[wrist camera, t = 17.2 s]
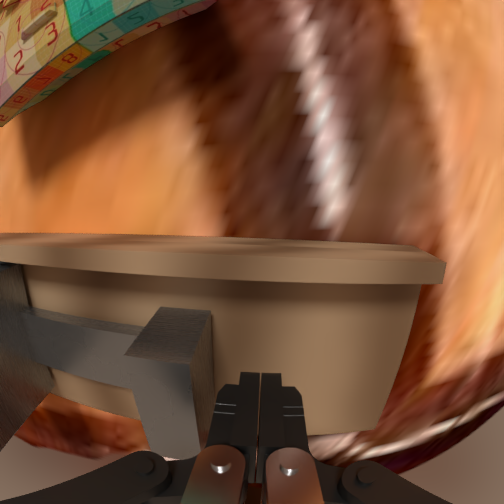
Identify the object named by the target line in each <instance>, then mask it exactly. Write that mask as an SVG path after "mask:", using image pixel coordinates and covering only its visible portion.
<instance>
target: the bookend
mask: <svg viewBox="0 0 504 504" xmlns="http://www.w3.org/2000/svg"><path fill="white" fill-rule="evenodd" d="M47 366H49V367H51V368H54V369H57V370H60V371H64V372H67V373H70V374H73V375H77V376H80V377H84V378H87V379H91V380H94V381H98V382H102V383H106V384H110V385H114V386H119V387H123V388H128V389H132V392H133V395H134V399H135V402H136V406H137V409H138V413H139V416H140V419H141V422H142V425H143V428H144V431H145V434H146V437H147V440H148V443H149V446H150V448H151V451H152V452H154V453H157V454H159V455H160V456H163V457H168V458H174V459H179V460H184V459H189V458H192V457H194V456H196V455H198V454H199V453H200V452H201V451H202V450H203V449H204V448H205V446H206V443H207V438H208V434H209V429H210V425H211V421H212V416H213V413H214V407H215V395H214V378H213V359H212V335H211V310H197V309H184V308H172V307H160V308H159V309H158V310H157V312H156V313H155V314H154V316H153V317H152V318H151V319H150V321H149V322H148V323H147V325H146V326H145V327H144V326H137V325H129V324H122V323H116V322H109V321H103V320H97V319H91V318H85V317H80V316H74V315H69V314H64V313H59V312H54V311H49V310H45V309H40V308H36V307H31V306H29V304H28V300H27V296H26V291H25V286H24V281H23V276H22V270H21V264H20V263H11V262H5V263H3V264H1V265H0V451H1V450H2V449H3V448H4V446H5V445H6V444H7V443H8V441H9V440H10V439H11V437H12V436H13V435H14V434H15V433H16V431H17V430H18V429H19V428H20V426H21V425H22V424H23V423H24V422H25V420H26V419H27V418H28V417H29V416H30V414H31V413H32V412H33V411H34V410H35V408H36V407H37V406H38V405H39V404H40V403H41V401H42V400H43V399H44V398H45V397H46V396H47V395H48V393H49V392H50V391H51V390H52V389H53V388H54V387H55V385H54V383H53V380H52V378H51V375H50V372H49V370H48V367H47Z"/></svg>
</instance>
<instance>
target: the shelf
mask: <svg viewBox="0 0 504 504" xmlns="http://www.w3.org/2000/svg"><path fill="white" fill-rule="evenodd" d="M0 261H2V262H11V263H20V264H21V270H22V276H23V281H24V286H25V291H26V296H27V300H28V304H29V306H31V307H36V308H40V309H45V310H49V311H54V312H59V313H64V314H69V315H74V316H80V317H85V318H91V319H97V320H103V321H109V322H116V323H122V324H129V325H137V326H144V327H145V326H146V325H147V323H148V322H149V321H150V319H151V318H152V317H153V316H154V314H155V313H156V312H157V310H158V309H159V308H160V307H172V308H184V309H197V310H211V335H212V359H213V378H214V395H215V404H216V398H217V394H218V392H219V391H220V389H221V388H222V387H223V386H224V385H225V384H236V385H239V379H240V373H241V372H259V373H260V387H259V408H260V391H261V374H262V373H281V377H282V386H295V387H296V389H297V390H298V391H299V392H300V394H301V395H302V401H303V408H304V417H305V423H306V431H307V435H322V434H336V433H347V432H356V431H364V430H372V429H375V427H376V425H377V423H378V420H379V418H380V416H381V413H382V411H383V409H384V406H385V404H386V401H387V399H388V396H389V394H390V391H391V388H392V386H393V383H394V380H395V377H396V375H397V372H398V369H399V366H400V363H401V360H402V357H403V353H404V350H405V347H406V344H407V340H408V337H409V333H410V330H411V326H412V322H413V318H414V314H415V310H416V306H417V302H418V297H419V293H420V288H421V284H442V283H443V278H444V273H445V268H446V262H444V261H442V260H440V259H438V258H436V257H435V256H433V255H431V254H429V253H427V252H425V251H423V250H421V249H419V248H417V247H415V246H407V245H389V244H371V243H351V242H331V241H309V240H286V239H261V238H234V237H204V236H170V235H130V234H75V233H0ZM47 367H48V370H49V372H50V375H51V378H52V380H53V383H54V385H55V387H54V388H53V389H52V390H51V391H50V393H52V394H55V395H57V396H60V397H63V398H65V399H68V400H71V401H74V402H77V403H80V404H83V405H86V406H89V407H92V408H96V409H99V410H102V411H106V412H109V413H113V414H117V415H121V416H125V417H129V418H133V419H137V420H141V419H140V416H139V413H138V409H137V406H136V402H135V399H134V395H133V392H132V389H128V388H123V387H119V386H114V385H110V384H106V383H102V382H98V381H94V380H91V379H87V378H84V377H80V376H77V375H73V374H70V373H67V372H64V371H60V370H57V369H54V368H51V367H49V366H47ZM258 429H259V409H258ZM258 429H257V435H258Z"/></svg>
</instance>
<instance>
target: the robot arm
mask: <svg viewBox="0 0 504 504" xmlns="http://www.w3.org/2000/svg"><path fill="white" fill-rule="evenodd" d="M259 387H260V373H259V372H241V373H240V379H239V385H236V384H225V385H224V386H223V387H222V388H221V389H220V391H219V392H218V394H217V398H216V404H215V407H214V413H213V416H212V421H211V425H210V429H209V434H208V438H207V443H206V446H205V448H204V449H203V450H202V451H201V452H200V453H199V454H198V455H196V456H194V457H192V458H189V459H184V460H174V461H166V460H165V459H164V458H163V457H162V456H160V455H159V454H157V453H154V452H151V451H137V452H134V453H131V454H129V455H127V456H125V457H123V458H121V459H119V460H116V461H114V462H112V463H110V464H108V465H106V466H103V467H101V468H98V469H96V470H94V471H92V472H89V473H86V474H84V475H81V476H79V477H77V478H74V479H71V480H68V481H66V482H63V483H61V484H57V485H55V486H52V487H49V488H46V489H42V490H39V491H36V492H33V493H29V494H26V495H22V496H19V497H15V498H11V499H7V500H3V501H0V504H244V502H245V500H246V497H247V489H248V483H254V476H255V462H256V448H257V429H258V409H259V429H258V450H257V470H256V483H262V497H261V504H452V503H450V502H447V501H446V500H443V499H441V498H439V497H437V496H435V495H433V494H432V493H429V492H428V491H425V490H424V489H422V488H420V487H418V486H416V485H414V484H413V483H411V482H409V481H407V480H406V479H404V478H402V477H400V476H399V475H397V474H395V473H394V472H392V471H390V470H389V469H387V468H385V467H384V466H382V465H380V464H378V463H376V462H374V461H367V460H364V461H358V462H355V463H353V464H351V465H349V466H348V467H347V468H343V467H336V466H330V465H326V464H323V463H321V462H319V461H318V460H316V459H315V458H314V457H313V456H312V454H311V453H310V451H309V447H308V439H307V431H306V423H305V417H304V408H303V401H302V395H301V394H300V392H299V391H298V390H297V389H296V387H295V386H282V377H281V373H262V374H261V391H260V408H259Z"/></svg>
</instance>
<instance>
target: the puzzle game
mask: <svg viewBox="0 0 504 504" xmlns="http://www.w3.org/2000/svg"><path fill="white" fill-rule="evenodd" d="M216 1H218V0H0V127H3V126H4V125H5V124H6V123H8V122H9V121H10V120H11V119H13V118H14V117H15V116H16V115H18V114H19V113H20V112H22V111H24V110H26V109H28V108H29V107H31V106H33V105H35V104H37V103H39V102H40V101H42V100H44V99H45V98H46V97H48V96H49V95H50V94H52V93H53V92H54V91H55V90H57V89H58V88H59V87H61V86H62V85H63V84H65V83H66V82H67V81H69V80H70V79H72V78H73V77H74V76H76V75H77V74H79V73H80V72H82V71H83V70H85V69H86V68H88V67H89V66H91V65H92V64H94V63H95V62H97V61H99V60H100V59H102V58H103V57H105V56H107V55H108V54H110V53H112V52H114V51H115V50H117V49H119V48H121V47H122V46H124V45H126V44H128V43H130V42H132V41H134V40H136V39H137V38H139V37H141V36H143V35H146V34H148V33H150V32H152V31H154V30H156V29H158V28H160V27H163V26H165V25H167V24H170V23H172V22H174V21H177V20H179V19H182V18H184V17H187V16H189V15H192V14H195V13H197V12H200V11H203V10H206V9H207V8H208V7H210V6H211V5H212V4H214V3H215V2H216Z"/></svg>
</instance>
